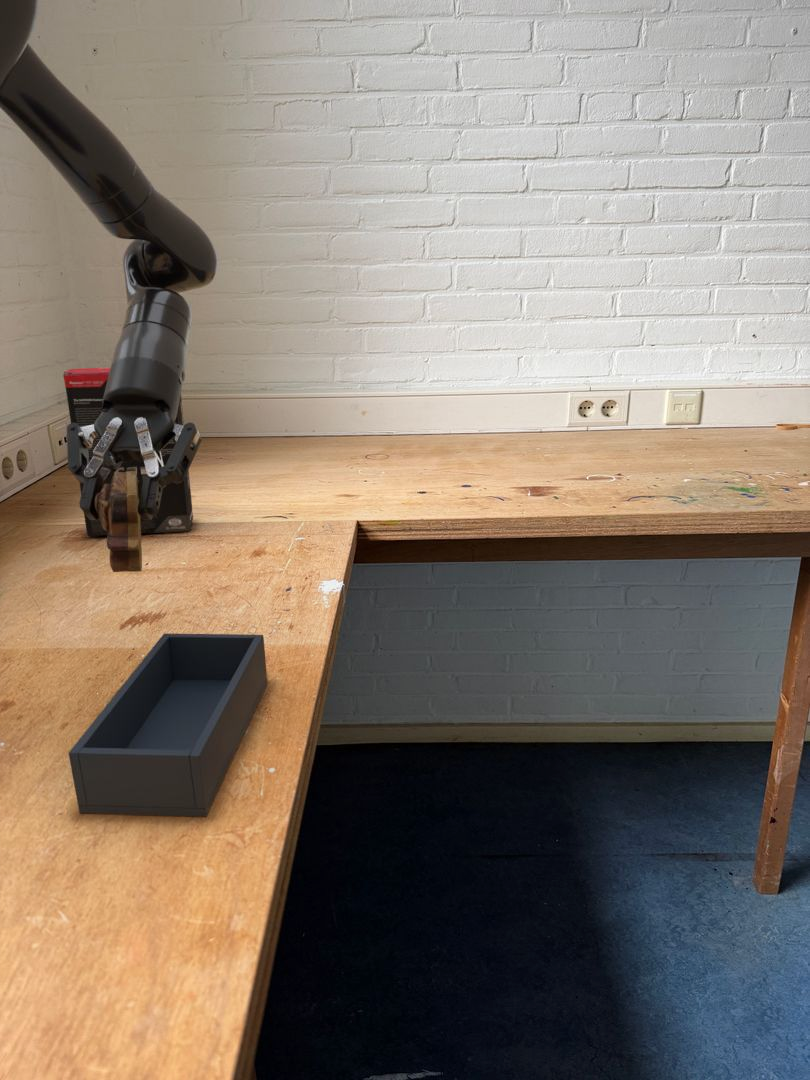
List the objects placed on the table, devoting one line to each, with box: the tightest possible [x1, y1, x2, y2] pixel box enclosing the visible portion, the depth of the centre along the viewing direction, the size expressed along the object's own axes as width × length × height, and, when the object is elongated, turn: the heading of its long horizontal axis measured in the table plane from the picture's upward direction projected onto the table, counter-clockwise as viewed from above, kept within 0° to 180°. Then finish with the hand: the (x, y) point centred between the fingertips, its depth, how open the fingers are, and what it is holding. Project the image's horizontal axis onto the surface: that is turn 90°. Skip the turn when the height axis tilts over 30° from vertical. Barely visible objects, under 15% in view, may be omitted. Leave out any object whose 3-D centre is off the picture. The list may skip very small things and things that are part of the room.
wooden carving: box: [95, 469, 143, 573], centre depth 81 cm, size 16×5×10 cm, turn 22°
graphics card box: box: [62, 367, 194, 537], centre depth 131 cm, size 17×7×27 cm, turn 100°
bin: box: [68, 633, 268, 818], centre depth 74 cm, size 11×22×6 cm, turn 176°
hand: (117, 515), depth 79 cm, fingers closed on wooden carving, 5 cm apart
